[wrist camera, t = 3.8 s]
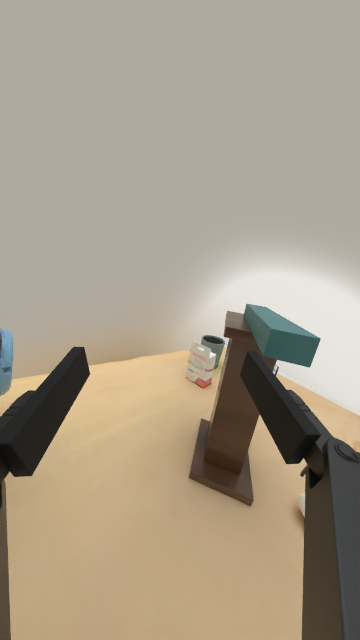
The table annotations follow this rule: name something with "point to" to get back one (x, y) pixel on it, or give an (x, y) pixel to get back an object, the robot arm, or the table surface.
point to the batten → (280, 336)
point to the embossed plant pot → (214, 346)
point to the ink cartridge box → (200, 364)
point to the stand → (230, 420)
